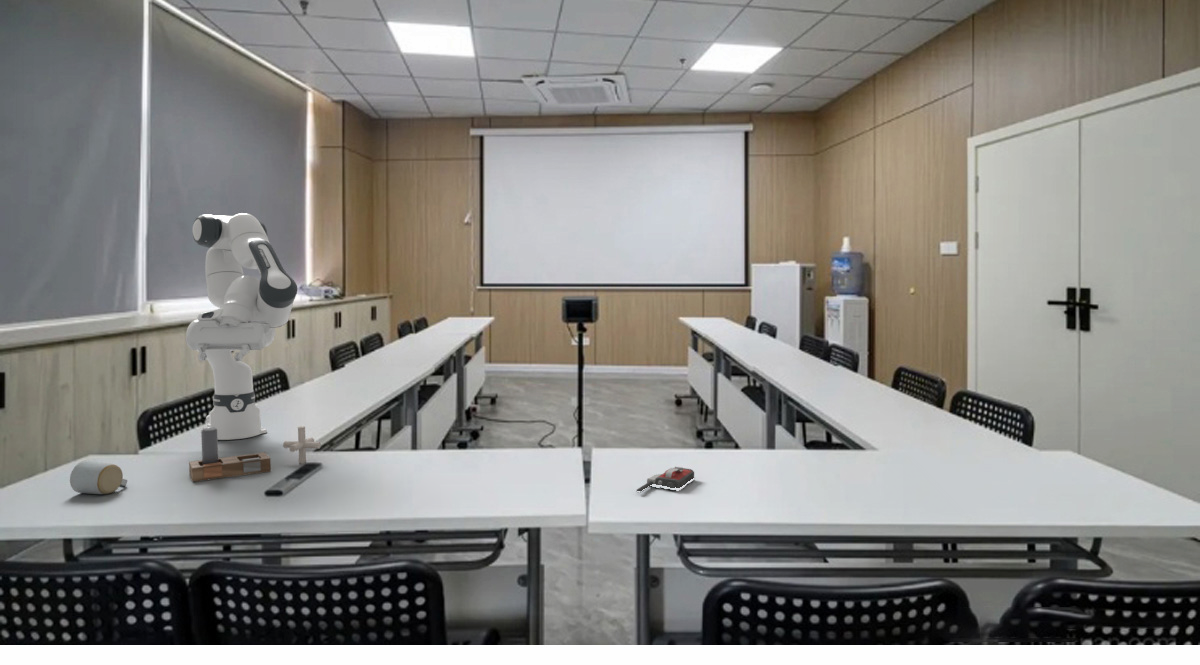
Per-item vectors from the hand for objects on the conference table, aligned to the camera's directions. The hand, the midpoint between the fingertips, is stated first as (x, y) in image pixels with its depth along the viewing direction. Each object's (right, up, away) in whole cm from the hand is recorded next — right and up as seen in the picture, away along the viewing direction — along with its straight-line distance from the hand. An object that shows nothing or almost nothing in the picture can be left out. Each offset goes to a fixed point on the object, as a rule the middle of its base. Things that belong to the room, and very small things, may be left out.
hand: (219, 359), depth 192 cm
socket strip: (+7, -30, -7) cm, 31 cm away
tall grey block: (+3, -30, -10) cm, 31 cm away
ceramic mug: (-15, -31, -23) cm, 42 cm away
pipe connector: (+21, -29, +4) cm, 36 cm away
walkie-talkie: (+120, -31, -19) cm, 125 cm away
